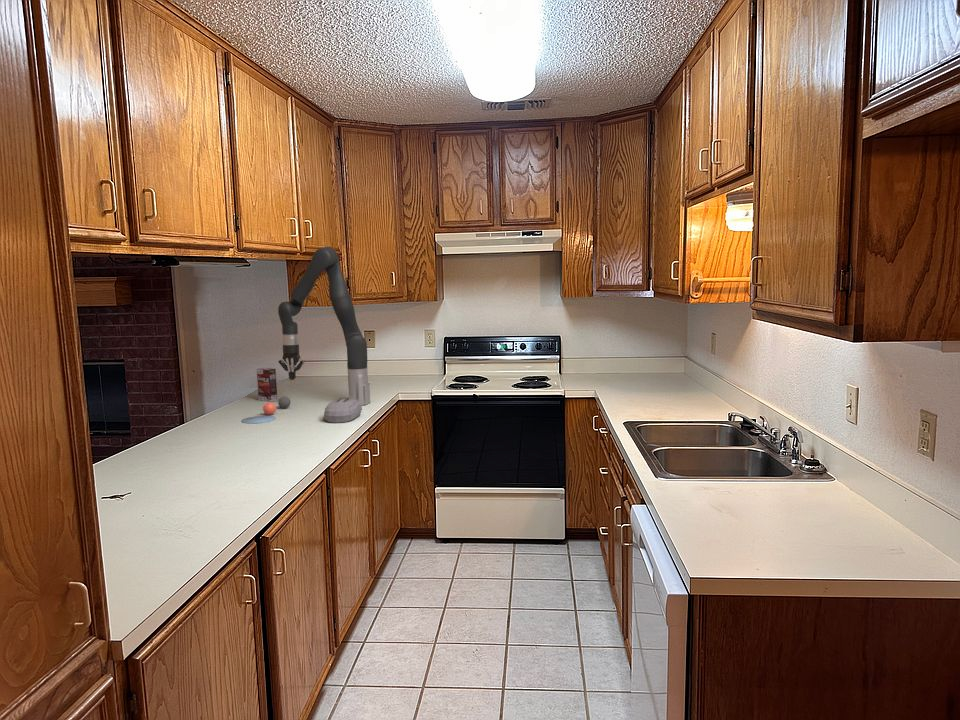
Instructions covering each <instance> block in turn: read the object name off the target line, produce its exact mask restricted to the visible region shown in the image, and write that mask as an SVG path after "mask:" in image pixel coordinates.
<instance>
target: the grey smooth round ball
mask: <svg viewBox="0 0 960 720" xmlns="http://www.w3.org/2000/svg"><path fill="white" fill-rule="evenodd" d="M277 403H278V406H279V407H280V408H282V409H287V408H289V407H290V406H291V399H290V398H289V397H287V396H281V397H280V398H279V399H278V400H277Z"/></svg>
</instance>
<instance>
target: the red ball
mask: <svg viewBox="0 0 960 720" xmlns="http://www.w3.org/2000/svg"><path fill="white" fill-rule="evenodd" d="M262 410H263V413H264V414H265V415H266V416H273V414H275V412H276V411H277V407H276V404H275V403H273V402H266V403H265V404H263V407H262Z"/></svg>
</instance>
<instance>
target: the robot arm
mask: <svg viewBox="0 0 960 720" xmlns="http://www.w3.org/2000/svg"><path fill="white" fill-rule="evenodd" d="M324 271H325V272H326V275H327V280H328V296H329V300H330V302H331V306H332V309H333V311H334V314H335V316H336V318H337V320H338V323H340V326H341V329H342V333H343V335H344V340H345V346H346V357H347V360H346V361H347V365H346V367H347V383H348V384H347V385H348V398H349V399H350V400H357V401H359V402H360V403H361V405H362V406H367V405H369V404H371V387H370V382H369V380H368V379H369V377H368V376H369V375H368V343H367V341H366V339H365V337H364V335H363V334H362V332H361V330H360V328H359V326H358V325H359V324H358V322H357V318H356V313H355V307H354V303H353V299H352V297H351V295H350V291H349V289H348V285H347V283H346V280H345V278H344V275H343V271H342V268H341V262H340V258H339V255H338V252H337V251H336V249H335V248H333V247H331V246H324V247H321V248H318V249H316V250H315V252H314V253H313V255H312V257H311V258H310V262H309V264H308V266H307V268H306V269H305V272H304V273H303V275H302V276H301V278H300V279H299V281H298V282H297V284H296V285H295V286H294V288H293V289H292V291H291V292H290V298H291V299H290V300H289V301H283V302H281V303H280V304H279V305H278V308H277V312H278V317H279V320H280V324H281V331H282V333H281V334H282V335H281V336H282V340H281V342H282V344H281V345H282V354H283V355H282V358H281V359H279V360H278V361H277V362H278V364H279V365H280V367H282V369H283V370H284V371H286V372H288V379H289V380H290V381H294V380H295V379H296V378H297V377H296V372H298V371H299V370H301V368H302V366H303V365H304V364H305V362H306V361H305V360H304V359H302V358H301V355H300V340H299V338H300V337H299V332H298V331H299V330H298V323H297V322H296V321H293V317H295V316H297V315H298V314H300V311H301V310H302V308H303V305H304V303H305V300H306V299H308V296H309V295H310V293H311V292H312V290H313V288H314V286H315V283H316V282H317V279H318V277H319V276H321V274H322V273H323V272H324Z"/></svg>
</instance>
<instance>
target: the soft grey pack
mask: <svg viewBox="0 0 960 720" xmlns="http://www.w3.org/2000/svg"><path fill="white" fill-rule="evenodd" d="M362 410H363V405H361V403H360V402H359V401H357V400H350V399H349V397H347V398H345V399H343V398H341V397H340V398H338V399H337V400H334V401H332V402H329V403H328V404H327V405H326V407H325V408H324V412H323V416H324V419H325V421H326V422H329V423H336V424H337V423H346V422H350V421H353V420H356V419H357V418H358V417H359V415H361V413H362Z"/></svg>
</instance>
